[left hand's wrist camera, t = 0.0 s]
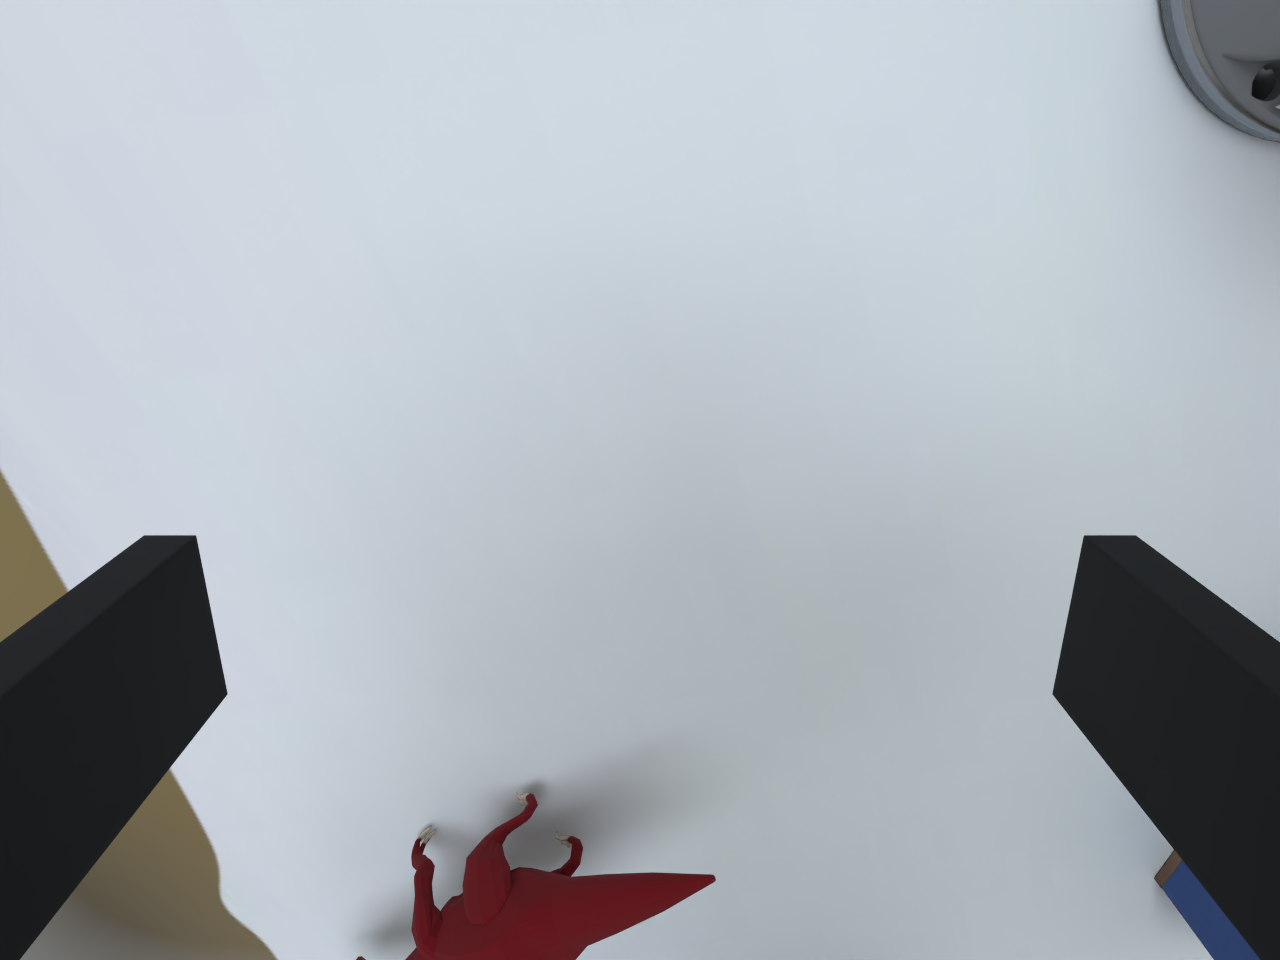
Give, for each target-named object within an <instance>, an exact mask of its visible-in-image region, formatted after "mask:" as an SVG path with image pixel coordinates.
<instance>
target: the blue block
mask: <svg viewBox="0 0 1280 960" xmlns="http://www.w3.org/2000/svg"><path fill="white" fill-rule="evenodd" d="M1154 879H1155V880H1156V881H1157V883H1158V884H1159V886H1160V887H1161V888H1162V889H1163V890H1164V892H1165V893H1166V894H1167V896H1168V897H1169V898H1170V900H1171V901H1172V903H1173V904H1174V905H1175V907H1176V908H1177V909H1178V911H1179V912H1180V914H1181V915H1182V916H1183V918H1184V919H1185V920H1186V922H1187V923H1188V925H1189V926H1190V927H1191V929H1192V930H1193V932H1194V933H1195V934H1196V936H1197V937H1198V938H1199V940H1200V941H1201V943H1202V944H1203V945H1204V947H1205V948H1206V949H1207V951H1208V952H1209V954H1210V955H1211V956H1212V958H1213V959H1214V960H1260V959H1259V957H1258V956H1257V955H1256V953H1255V952H1254V951H1253V950H1252V948H1251V947H1250V946H1249V944H1248V943H1247V942H1246V941H1245V939H1244V938H1243V937H1242V936H1241V934H1240V933H1239V932H1238V930H1237V929H1236V928H1235V927H1234V925H1233V924H1232V923H1231V922H1230V920H1229V919H1228V918H1227V916H1226V915H1225V914H1224V913H1223V911H1222V910H1221V909H1220V907H1219V906H1218V905H1217V904H1216V902H1215V901H1214V900H1213V899H1212V897H1211V896H1210V895H1209V893H1208V892H1207V891H1206V890H1205V888H1204V887H1203V886H1202V884H1201V883H1200V882H1199V881H1198V879H1197V878H1196V877H1195V876H1194V874H1193V873H1192V872H1191V870H1190V869H1189V868H1188V867H1187V865H1186V864H1185V863H1184V861H1183V860H1182V859H1181V858H1180V856H1179V855H1178V854H1177V853H1176V851H1175V850H1174V852H1173V853H1172V854H1171V856H1170V857H1169V859H1168V860H1167V861H1166V863H1165V864H1164V865H1163V867H1162V868H1161V870H1160V871H1159V872H1158V874H1157V875H1156V877H1155V878H1154Z"/></svg>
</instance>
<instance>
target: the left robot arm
mask: <svg viewBox="0 0 1280 960" xmlns="http://www.w3.org/2000/svg"><path fill="white" fill-rule="evenodd" d="M226 695H227V689H226V684H225V679H224V674H223V669H222V664H221V659H220V654H219V649H218V644H217V639H216V634H215V629H214V624H213V619H212V613H211V608H210V603H209V598H208V593H207V588H206V583H205V578H204V573H203V568H202V563H201V558H200V553H199V548H198V543H197V538H196V536H143V537H142V538H140V539H139V540H138V541H136V542H135V543H133V544H132V545H131V546H129V547H128V548H127V549H125V550H124V551H123V552H121V553H120V554H119V555H117V556H116V557H115V558H113V559H112V560H111V561H109V562H108V563H107V564H105V565H104V566H102V567H101V568H100V569H98V570H97V571H96V572H94V573H93V574H92V575H90V576H89V577H88V578H86V579H85V580H84V581H82V582H81V583H80V584H78V585H77V586H76V587H74V588H73V589H72V590H70V591H69V592H67V593H66V594H65V595H64V596H62V597H61V598H59V599H58V600H57V601H55V602H54V603H53V604H51V605H50V606H49V607H47V608H46V609H45V610H43V611H42V612H41V613H39V614H38V615H37V616H35V617H34V618H32V619H31V620H30V621H28V622H27V623H26V624H24V625H23V626H22V627H20V628H19V629H18V630H16V631H15V632H14V633H12V634H11V635H10V636H8V637H7V638H6V639H4V640H3V641H2V642H0V960H20V959H21V957H22V956H23V955H24V953H25V952H26V951H27V950H28V948H29V947H30V946H31V944H32V943H33V942H34V941H35V939H36V938H37V937H38V936H39V934H40V933H41V932H42V930H43V929H44V928H45V927H46V925H47V924H48V923H49V921H50V920H51V919H52V918H53V916H54V915H55V914H56V913H57V911H58V910H59V909H60V907H61V906H62V905H63V904H64V902H65V901H66V900H67V898H68V897H69V896H70V895H71V893H72V892H73V891H74V890H75V888H76V887H77V886H78V884H79V883H80V882H81V881H82V879H83V878H84V877H85V875H86V874H87V873H88V872H89V870H90V869H91V868H92V867H93V865H94V864H95V863H96V861H97V860H98V859H99V858H100V856H101V855H102V854H103V853H104V851H105V850H106V849H107V847H108V846H109V845H110V844H111V842H112V841H113V840H114V838H115V837H116V836H117V835H118V833H119V832H120V831H121V830H122V828H123V827H124V826H125V824H126V823H127V822H128V821H129V819H130V818H131V817H132V815H133V814H134V813H135V812H136V810H137V809H138V808H139V807H140V805H141V804H142V803H143V801H144V800H145V799H146V797H147V796H148V795H149V794H150V793H151V791H152V790H153V789H154V787H155V786H156V785H157V784H158V782H159V781H160V780H161V778H162V777H163V776H164V775H165V773H166V772H167V771H168V770H169V768H170V767H171V766H172V764H173V763H174V762H175V761H176V759H177V758H178V757H179V755H180V754H181V753H182V752H183V750H184V749H185V748H186V747H187V745H188V744H189V743H190V741H191V740H192V739H193V738H194V736H195V735H196V734H197V732H198V731H199V730H200V729H201V727H202V726H203V725H204V724H205V722H206V721H207V720H208V718H209V717H210V716H211V715H212V713H213V712H214V711H215V709H216V708H217V707H218V706H219V704H220V703H221V702H222V701H223V699H224V698H225V697H226ZM1053 695H1054V697H1055V698H1056V699H1057V701H1058V702H1059V703H1060V704H1061V706H1062V707H1063V708H1064V709H1065V711H1066V712H1067V713H1068V715H1069V716H1070V717H1071V718H1072V720H1073V721H1074V722H1075V724H1076V725H1077V726H1078V727H1079V729H1080V730H1081V731H1082V732H1083V734H1084V735H1085V736H1086V738H1087V739H1088V740H1089V741H1090V743H1091V744H1092V745H1093V747H1094V748H1095V749H1096V750H1097V752H1098V753H1099V754H1100V755H1101V757H1102V758H1103V759H1104V761H1105V762H1106V763H1107V764H1108V766H1109V767H1110V768H1111V770H1112V771H1113V772H1114V773H1115V775H1116V776H1117V777H1118V778H1119V780H1120V781H1121V782H1122V784H1123V785H1124V786H1125V787H1126V789H1127V790H1128V791H1129V793H1130V794H1131V795H1132V796H1133V798H1134V799H1135V800H1136V801H1137V803H1138V804H1139V805H1140V807H1141V808H1142V809H1143V810H1144V812H1145V813H1146V814H1147V815H1148V817H1149V818H1150V819H1151V821H1152V822H1153V823H1154V824H1155V826H1156V827H1157V828H1158V830H1159V831H1160V832H1161V833H1162V835H1163V836H1164V837H1165V838H1166V840H1167V841H1168V842H1169V844H1170V845H1171V846H1172V847H1173V849H1174V850H1175V851H1176V853H1177V854H1178V855H1179V856H1180V858H1181V859H1182V860H1183V861H1184V863H1185V864H1186V865H1187V867H1188V868H1189V869H1190V870H1191V872H1192V873H1193V874H1194V876H1195V877H1196V878H1197V879H1198V881H1199V882H1200V883H1201V884H1202V886H1203V887H1204V888H1205V890H1206V891H1207V892H1208V893H1209V895H1210V896H1211V897H1212V899H1213V900H1214V901H1215V902H1216V904H1217V905H1218V906H1219V907H1220V909H1221V910H1222V911H1223V913H1224V914H1225V915H1226V916H1227V918H1228V919H1229V920H1230V922H1231V923H1232V924H1233V925H1234V927H1235V928H1236V929H1237V930H1238V932H1239V933H1240V934H1241V936H1242V937H1243V938H1244V939H1245V941H1246V942H1247V943H1248V944H1249V946H1250V947H1251V948H1252V950H1253V951H1254V952H1255V953H1256V955H1257V956H1258V957H1259V959H1260V960H1280V642H1278V641H1277V640H1276V639H1274V638H1273V637H1272V636H1270V635H1269V634H1268V633H1266V632H1265V631H1264V630H1262V629H1261V628H1260V627H1258V626H1257V625H1256V624H1254V623H1253V622H1252V621H1250V620H1249V619H1248V618H1246V617H1245V616H1243V615H1242V614H1241V613H1239V612H1238V611H1237V610H1235V609H1234V608H1233V607H1231V606H1230V605H1229V604H1227V603H1226V602H1225V601H1223V600H1222V599H1221V598H1219V597H1218V596H1217V595H1215V594H1214V593H1213V592H1211V591H1210V590H1208V589H1207V588H1206V587H1204V586H1203V585H1202V584H1200V583H1199V582H1198V581H1196V580H1195V579H1194V578H1192V577H1191V576H1190V575H1188V574H1187V573H1186V572H1184V571H1183V570H1182V569H1180V568H1179V567H1178V566H1176V565H1175V564H1173V563H1172V562H1171V561H1169V560H1168V559H1167V558H1165V557H1164V556H1163V555H1161V554H1160V553H1159V552H1157V551H1156V550H1155V549H1153V548H1152V547H1151V546H1149V545H1148V544H1147V543H1145V542H1144V541H1142V540H1141V539H1140V538H1138V537H1137V536H1084V538H1083V543H1082V548H1081V553H1080V558H1079V563H1078V568H1077V573H1076V578H1075V583H1074V588H1073V593H1072V598H1071V603H1070V608H1069V613H1068V619H1067V624H1066V629H1065V634H1064V639H1063V644H1062V649H1061V654H1060V659H1059V664H1058V669H1057V674H1056V679H1055V684H1054V689H1053Z"/></svg>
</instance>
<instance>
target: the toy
mask: <svg viewBox="0 0 1280 960" xmlns="http://www.w3.org/2000/svg"><path fill="white" fill-rule="evenodd" d="M516 798H518V799H519V800H518V802H519V803H520V804H521V805H522V806H526V808H525V809H524V811H523V812H522V813H521V814H520V815H518V816H516V817H515V818H513V819H511V820H510V821H508V822H506V823H504V824H502V825H500V826H499V827H497V828H495V829H494V830H493V831H492V832H491V833H489V834H488V835H487V836H486V837H484V839H483V840H482V841H481V842H480V843H479V844H478V845H477V847H476V848H475V849H474V850H473V851H472V852H471V853H470V855H469V856H468V857H467V860H466V868H465V874H464V880H463V893H462V894H461V895H459V896H454V897H452V898H451V899H450V900H449V901H448V902H447V903H446V904H445V906H444V907H443V908H442V910H441V911H439V909H438V908H437V907H436V906H435V905H434V901H433V893H432V879H433V873H434V867H435V866H434V864H433V862H432V861H431V860H430V859H429V858H427V857H426V856H425V855H422V854H423V851H424V848H425V845H426V843H427V842H428V841H429V840H430V838H431V837H432V835H433V834H434V833H435V831H436V830H435V831H433V832H431V833H430V834H429V835H428V836H427V837H426V838H425V839H424V841H423V843H422V844H421V846H420V842H421V840H422V839H423V838H424V837H425V836H426V835H427V834H428V833H429V831H430V830H431V827H428V828H427V829H425V830H424V831H423V832H422V833H421V834H420V835H419V837H418V839H417V840H416V841H415V844H414V847H413V850H412V856H411V858H412V866H413V867H414V868H415V869H416V870H417V871H416V873H415V876H414V887H415V901H414V912H413V922H412V933H413V936H414V940H415V943H416V946H417V948H416V949H415V950H414V951H413V952H412V953H411V954H410V955H409V956H408V957H407V959H406V960H576V959H577V957H578V956H579V955H580V954H581V953H582V952H583V950H584V949H585V948H586V947H587V946H588V945H591V944H593V943H595V942H598V941H600V940H602V939H605V938H607V937H610V936H612V935H614V934H617V933H619V932H621V931H623V930H625V929H627V928H630V927H632V926H634V925H636V924H638V923H640V922H642V921H644V920H646V919H648V918H651V917H653V916H655V915H657V914H659V913H661V912H663V911H665V910H667V909H668V908H670V907H672V906H674V905H675V904H677V903H679V902H680V901H682V900H684V899H686V898H687V897H689V896H691V895H693V894H694V893H696V892H698V891H699V890H701V889H703V888H705V887H706V886H708V885H710V884H711V883H713V882H715V881H716V879H715V876H714V875H705V874H678V873H628V874H604V875H591V876H577V877H571V875H572V874H573V873H574V872H575V870H576V869H577V868H578V866H579V865H580V862H581V856H582V851H583V846H582V843H581V841H580V840H579V839H577V838H575V837H573V836H563V835H562V836H557V832H556V834H555V837H556V839H558V840H561V844H563V845H567V847H572V850H571V858H570V859H569V860H568V862H567V863H566V864H564V865H563V866H562V867H561V868H560V869H557V870H554V871H551V872H547V871H542V870H538V869H533V868H522V867H518V868H516V869H513V870H511V871H510V867H509V864H508V862H507V860H506V858H505V856H504V852H503V847H502V844H503V842H504V840H505V838H506V837H507V835H508V834H509V833H510V832H512V831H513V830H514V829H516V828H517V827H519V826H520V825H522V824H523V823H525V822H526V821H527V820H528V819H529V818H530V817H531V816H532V814H533V812H534V810H535V809H536V807H537V805H538V804H537V801H536V799H535V797H534V795H533V794H531V793H530V794H529V793H526V794H523V795H518V791H517V793H516ZM520 799H521V800H520ZM356 960H365V959H364V958H363V957H362V956H361V957H358V958H357V959H356Z"/></svg>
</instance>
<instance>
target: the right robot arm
mask: <svg viewBox="0 0 1280 960" xmlns="http://www.w3.org/2000/svg"><path fill="white" fill-rule="evenodd" d="M1160 2H1161V11H1162V19H1163V23H1164V28H1165V32H1166V37H1167V40H1168V43H1169V46H1170V49H1171V52H1172V55H1173V57H1174V59H1175V61H1176V64H1177V66H1178V68H1179V70H1180V72H1181V74H1182V75H1183V77H1184V79H1185V80H1186V82H1187V84H1188V85H1189V86H1190V88H1191V89H1192V90H1193V92H1194V93H1195V94H1196V95H1197V97H1198V98H1199V99H1200V100H1201V101H1202V102H1203V103H1204V104H1205V105H1206V106H1207V107H1208V108H1209V109H1210V110H1211V111H1212V112H1213V113H1215V114H1216V115H1217V116H1219V117H1220V118H1221V119H1222V120H1224V121H1226V122H1227V123H1229V124H1231V125H1232V126H1234V127H1236V128H1237V129H1240V130H1242V131H1244V132H1246V133H1249V134H1251V135H1254V136H1257V137H1260V138H1264V139H1267V140H1272V141H1277V142H1280V0H1160Z"/></svg>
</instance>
